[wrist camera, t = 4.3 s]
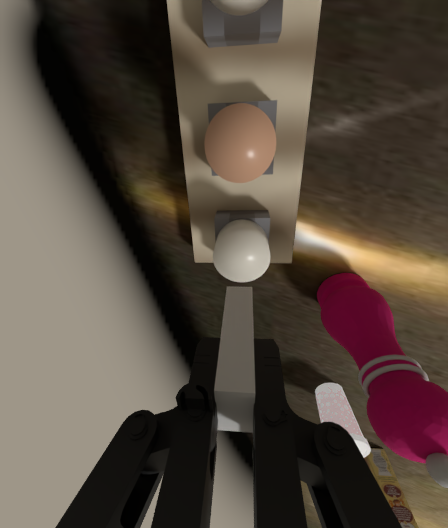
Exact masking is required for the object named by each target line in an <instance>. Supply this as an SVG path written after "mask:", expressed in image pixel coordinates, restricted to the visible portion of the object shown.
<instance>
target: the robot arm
mask: <svg viewBox="0 0 448 528" xmlns="http://www.w3.org/2000/svg"><path fill="white" fill-rule="evenodd" d="M176 401H177V405H178V406H177V407H175V408H174V409H171V410H169V411H166V412H162V413H159V414H155V415H154V414H153V413H152V412H150V411H148V410H140V411H137V412H134V413H133V414H131V415H130V416H128V418H127V419H126V420H125V421H124V422H123V424H122V425H121V427H120V428H119V430H118V432H117V433H116V434H115V436H114V438H113V439H112V441H111V442H110V444H109V445H108V447H107V448H106V450H105V452H104V453H103V455H102V456H101V458H100V460H99V461H98V462H97V464H96V466H95V467H94V469H93V470H92V472H91V473H90V475H89V476H88V478H87V480H86V481H85V483H84V484H83V486H82V487H81V489H80V491H79V492H78V494H77V495H76V497H75V498H74V500H73V501H72V503H71V504H70V506H69V508H68V509H67V511H66V512H65V514H64V515H63V517H62V518H61V520H60V522H59V523H58V525H57V526H56V528H140V527H141V524H142V522H143V520H144V517H145V514H146V513H147V510H148V508H149V506H150V504H151V501H152V499H153V496H154V494H155V492H156V490H157V487H158V485H159V483H160V481H161V478H162V476H163V479H162V483H161V488H160V492H159V496H158V500H157V505H156V508H155V513H154V517H153V521H152V525H151V528H210V516H211V506H212V495H213V484H214V473H215V462H216V450H217V443H216V437H217V428H218V430H226V431H240V432H253V485H254V486H253V487H254V488H253V489H254V528H307V522H306V515H305V509H304V502H303V495H302V488H301V481H303V482H305V483H307V486H308V489H309V491H310V494H311V497H312V500H313V503H314V506H315V508H316V511H317V514H318V517H319V520H320V523H321V525H322V528H402V526H401V524H400V523H399V521H398V519H397V517H396V515H395V514H394V512H393V510H392V508H391V506H390V505H389V503H388V501H387V499H386V497H385V496H384V494H383V492H382V490H381V488H380V486H379V485H378V483H377V481H376V479H375V477H374V476H373V474H372V472H371V470H370V468H369V467H368V465H367V463H366V461H365V459H364V458H363V456H362V454H361V452H360V450H359V448H358V447H357V445H356V443H355V441H354V439H353V438H352V437H351V435H350V434H349V433H348V431H347V430H346V429H344V428H343V427H342V426H341V425H339V424H336V423H334V422H323V423H320V424H318V425H317V424H314V423H312V422H310V421H307V420H305V419H303V418H301V417H299V416H298V415H296V414H295V413H294V412H293V411H292V410H291V408H290V407H289V405H288V403H287V400H286V396H285V389H284V382H283V375H282V368H281V361H280V354H279V348H278V346H277V344H276V343H275V341H274V340H273V339H254V332H253V300H252V287H227V291H226V299H225V307H224V315H223V323H222V331H221V338H209V337H203V338H202V339H201V341H200V342H199V343H198V345H197V348H196V353H195V357H194V362H193V366H192V370H191V375H190V380H189V383H188V384H186V385H184V386H183V387H182V388H181V389H180V390H179V392H178V394H177V396H176ZM163 474H164V475H163ZM300 480H301V481H300Z"/></svg>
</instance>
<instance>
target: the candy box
mask: <svg viewBox="0 0 448 528" xmlns="http://www.w3.org/2000/svg"><path fill="white" fill-rule="evenodd" d="M364 459H365V461H366V463H367V465H368V467H369V468H370V470H371V472H372V474H373V476H374V477H375V479H376V481H377V483H378V485H379V486H380V488H381V490H382V492H383V494H384V496H385V497H386V499H387V501H388V503H389V505H390V506H391V508H392V510H393V512H394V514H395V515H396V517H397V519H398V521H399V523H400V524H401V526H402V528H418V526H417V523H416V521H415V519H414V517H413V514H412V512H411V510H410V508H409V505H408V503H407V501H406V498H405V496H404V494H403V492H402V489H401V487H400V485H399V483H398V480H397V478H396V476H395V473H394V471H393V469H392V467H391V464H390V462H389V460H388V457H387V455H386V453H385V450H384V449H377V448H371V451H370V454H369V455H367V456H366V457H365V458H364Z"/></svg>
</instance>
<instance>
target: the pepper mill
mask: <svg viewBox="0 0 448 528" xmlns="http://www.w3.org/2000/svg"><path fill="white" fill-rule="evenodd" d="M317 299H318V302H319V304H320V307H321V320H322V323H323V325H324V327H325V328H326V330H327V332H328V333H329V334H330V336H331V337H332V338H333V339H334V340H335V341H337V342H338V343H339V344H340V345H341V346H343V347H344V348H345V349H346V350H347V351H348V352H349V353H350V355H351V356H352V357H353V358H354V360H355V362H356V364H357V365H358V367H359V370H360V372H359V375H358V379H359V382H360V384H361V386H362V387H363V392H364V393H365V395H366V396H367V397H368V398H369V399H368V402H367V415H368V418H369V420H370V423H371V425H372V427H373V429H374V431H375V432H376V434H377V436H378V437H379V438H380V439H381V440H382V442H383V443H384V444H385V445H386V446H387V447H389V448H390V449H391V450H392V451H393V452H395V453H396V454H398V455H400V456H402V457H404V458H407V459H409V460H412V461H416V462H421V463H426V468H427V470H428V472H429V474H430V475H431V477H432V478H433V479H434V480H435V481H436V482H437V483H438V484H440V485H441V486H443V487H446V488H448V392H446V391H445V390H444V389H442V388H441V387H440V386H438V385H436V384H434V383H432V382H429V379H428V376H427V374H426V373H425V372H424V371H423V370H422V369H421V366H420V365H419V363H418V362H417V361H416V360H414V359H412V358H410V357H408V356H406V355H405V354H404V353H403V351H402V349H401V347H400V346H399V344H398V342H397V339H396V336H395V330H394V321H393V315H392V312H391V310H390V307H389V305H388V304H387V302H386V300H385V299H384V297H383V296H382V295H381V294H380V293H378V292H377V291H375V290H373V289H371V288H370V287H369V286H368V285H367V283H366V282H365V281H364V280H363V279H362V278H361V277H360V276H358V275H356V274H352V273H340V274H336V275H333V276H331V277H329V278H327V279H326V280H325V281H324V282H323V283H322V284H321V285H320V287H319V289H318V291H317Z"/></svg>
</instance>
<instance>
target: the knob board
mask: <svg viewBox="0 0 448 528" xmlns="http://www.w3.org/2000/svg"><path fill="white" fill-rule="evenodd" d="M321 1H322V0H269V1H268V2H267V3H266V4H264V5H263V6H262V7H261V8H259V9H258V10H256V11H254V12H252V13H250V14H247V15H231V14H228V13H225V12H223V11H222V10H220V9H218V8H217V7H216V6H215V5H214V4H213V3H212V2H211V1H210V0H167V8H168V17H169V26H170V36H171V45H172V54H173V64H174V73H175V82H176V91H177V101H178V110H179V119H180V129H181V138H182V147H183V157H184V166H185V175H186V184H187V194H188V203H189V212H190V222H191V231H192V240H193V249H194V259H195V262H213V251H214V248H215V244H216V240H217V237H218V234H219V232H220V230H221V229H222V228H223V227H224V226H225V225H226V224H228V223H230V222H232V221H234V220H240V219H244V220H250V221H253V222H255V223H257V224H258V225H259V226H261V227H262V229H263V230H264V231H265V233H266V236H267V239H268V245H269V250H270V263H292V254H293V246H294V237H295V228H296V219H297V211H298V202H299V193H300V184H301V176H302V167H303V158H304V150H305V141H306V132H307V123H308V115H309V106H310V97H311V88H312V80H313V71H314V62H315V54H316V45H317V36H318V27H319V19H320V10H321ZM237 103H246V104H251V105H254V106H256V107H258V108H259V109H261V110H262V111H263V112H264V113H265V114H266V115H267V116H268V117H269V119H270V120H271V122H272V124H273V127H274V129H275V133H276V151H275V155H274V158H273V160H272V162H271V164H270V166H269V167H268V169H267V170H266V171H265V172H264V173H263V174H262V175H261V176H259V177H258V178H256V179H254V180H252V181H250V182H246V183H233V182H229V181H227V180H225V179H223V178H221V177H220V176H218V175H217V174H216V173H215V172H214V171H213V169H212V168H211V166H210V164H209V163H208V160H207V158H206V154H205V145H204V142H205V135H206V131H207V128H208V126H209V124H210V122H211V120H212V119H213V117H214V116H215V115H216V114H217V113H218V112H219V111H220V110H222V109H223V108H225V107H227V106H229V105H232V104H237Z"/></svg>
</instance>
